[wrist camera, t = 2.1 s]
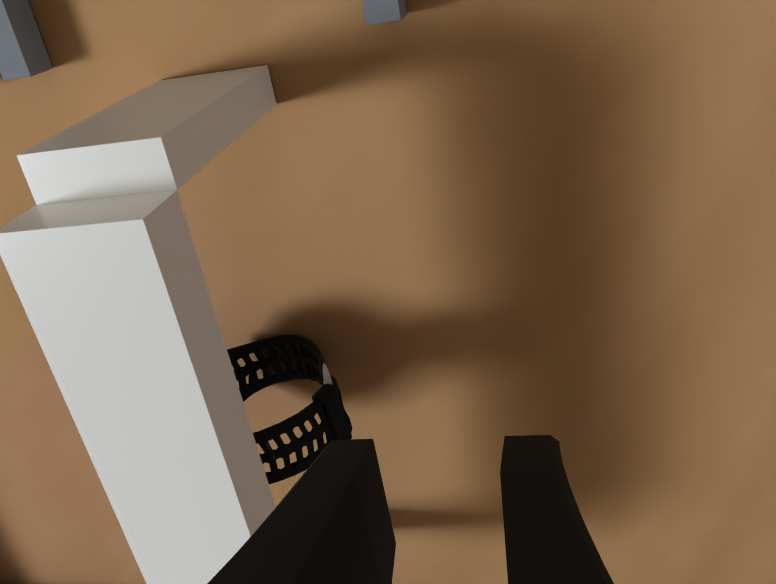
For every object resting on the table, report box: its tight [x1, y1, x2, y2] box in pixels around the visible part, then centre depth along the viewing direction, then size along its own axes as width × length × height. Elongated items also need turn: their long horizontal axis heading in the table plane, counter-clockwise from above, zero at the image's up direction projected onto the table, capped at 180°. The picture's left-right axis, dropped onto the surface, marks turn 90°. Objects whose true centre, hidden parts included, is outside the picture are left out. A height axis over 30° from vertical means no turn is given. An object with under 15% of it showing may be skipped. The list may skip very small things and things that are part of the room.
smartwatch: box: [227, 335, 352, 484], centre depth 21 cm, size 4×5×5 cm
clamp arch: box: [0, 65, 276, 584], centre depth 19 cm, size 3×16×8 cm, turn 10°
